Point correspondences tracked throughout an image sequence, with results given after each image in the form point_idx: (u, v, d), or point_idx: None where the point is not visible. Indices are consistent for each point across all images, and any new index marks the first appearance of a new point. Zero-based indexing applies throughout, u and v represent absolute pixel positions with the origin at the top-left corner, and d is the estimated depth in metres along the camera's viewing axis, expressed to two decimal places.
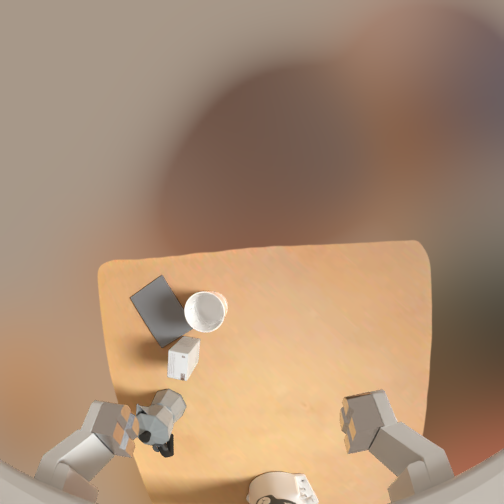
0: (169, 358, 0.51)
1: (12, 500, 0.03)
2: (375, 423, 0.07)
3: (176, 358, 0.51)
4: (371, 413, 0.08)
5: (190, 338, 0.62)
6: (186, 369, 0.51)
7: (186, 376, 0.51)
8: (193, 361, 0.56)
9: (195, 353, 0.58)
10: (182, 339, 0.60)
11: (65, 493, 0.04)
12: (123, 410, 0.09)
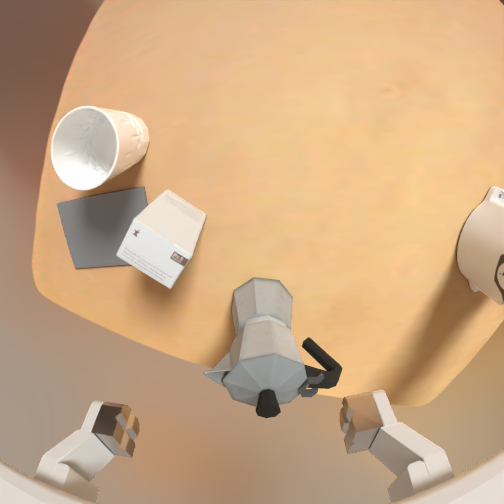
0: (132, 262, 0.24)
1: (12, 500, 0.03)
2: (375, 423, 0.07)
3: (135, 250, 0.23)
4: (371, 413, 0.08)
5: None
6: (165, 241, 0.23)
7: (182, 250, 0.23)
8: (179, 219, 0.28)
9: (172, 208, 0.29)
10: None
11: (65, 493, 0.04)
12: (123, 410, 0.09)
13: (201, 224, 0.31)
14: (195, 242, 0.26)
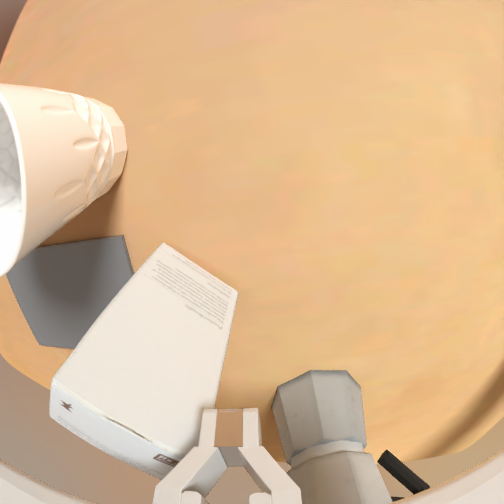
0: None
1: (12, 500, 0.03)
2: (234, 441, 0.07)
3: (78, 427, 0.08)
4: (233, 430, 0.08)
5: None
6: (135, 437, 0.07)
7: (178, 453, 0.08)
8: (177, 338, 0.12)
9: (163, 302, 0.13)
10: None
11: (65, 493, 0.04)
12: None
13: (227, 330, 0.15)
14: (212, 406, 0.10)
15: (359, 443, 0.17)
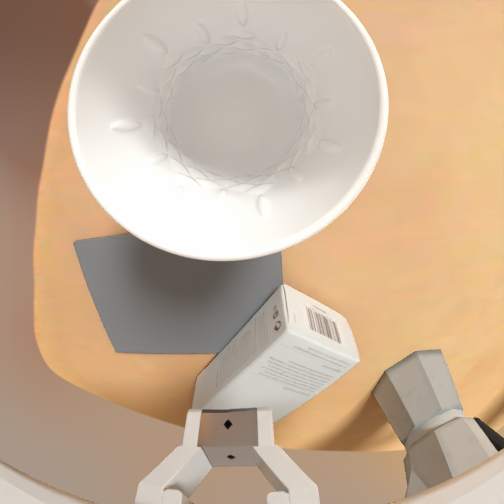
0: None
1: (12, 500, 0.03)
2: (249, 441, 0.07)
3: None
4: (248, 430, 0.08)
5: (271, 316, 0.17)
6: None
7: None
8: (265, 404, 0.18)
9: (263, 388, 0.17)
10: (254, 318, 0.18)
11: (65, 493, 0.04)
12: (229, 415, 0.09)
13: (314, 395, 0.17)
14: None
15: (462, 411, 0.17)
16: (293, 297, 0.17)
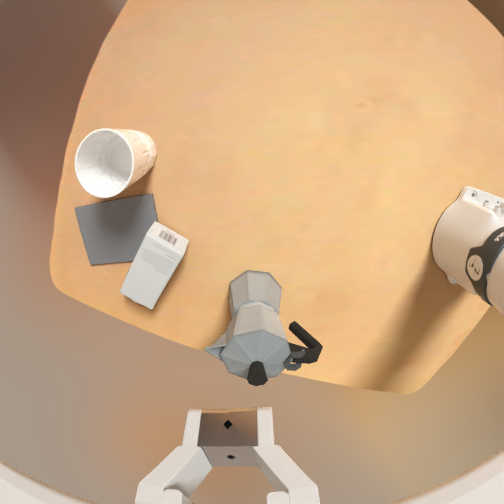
0: None
1: (12, 500, 0.03)
2: (249, 441, 0.07)
3: None
4: (248, 430, 0.08)
5: None
6: None
7: (146, 306, 0.42)
8: (149, 280, 0.40)
9: (145, 268, 0.39)
10: None
11: (65, 493, 0.04)
12: (229, 415, 0.09)
13: (169, 275, 0.39)
14: (157, 298, 0.41)
15: (271, 307, 0.39)
16: (156, 225, 0.39)
